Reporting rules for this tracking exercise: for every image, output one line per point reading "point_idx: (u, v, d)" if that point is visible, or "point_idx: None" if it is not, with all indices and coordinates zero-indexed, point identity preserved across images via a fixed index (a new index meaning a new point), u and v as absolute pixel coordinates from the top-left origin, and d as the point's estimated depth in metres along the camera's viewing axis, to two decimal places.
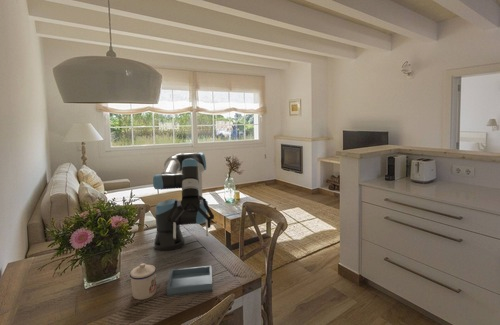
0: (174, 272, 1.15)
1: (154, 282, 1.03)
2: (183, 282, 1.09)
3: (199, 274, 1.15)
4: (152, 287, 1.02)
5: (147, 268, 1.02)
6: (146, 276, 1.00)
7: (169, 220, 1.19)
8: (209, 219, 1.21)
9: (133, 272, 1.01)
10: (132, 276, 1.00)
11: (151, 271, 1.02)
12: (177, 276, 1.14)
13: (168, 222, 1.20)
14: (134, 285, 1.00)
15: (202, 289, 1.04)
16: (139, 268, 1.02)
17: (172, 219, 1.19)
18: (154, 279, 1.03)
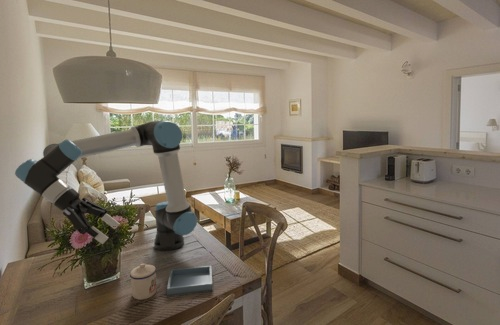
0: (174, 272, 1.15)
1: (154, 282, 1.03)
2: (183, 282, 1.09)
3: (199, 274, 1.15)
4: (152, 287, 1.02)
5: (147, 268, 1.02)
6: (146, 276, 1.00)
7: None
8: (86, 232, 0.91)
9: (133, 272, 1.01)
10: (132, 276, 1.00)
11: (151, 271, 1.02)
12: (177, 276, 1.14)
13: None
14: (134, 285, 1.00)
15: (202, 289, 1.04)
16: (139, 268, 1.02)
17: None
18: (154, 279, 1.03)
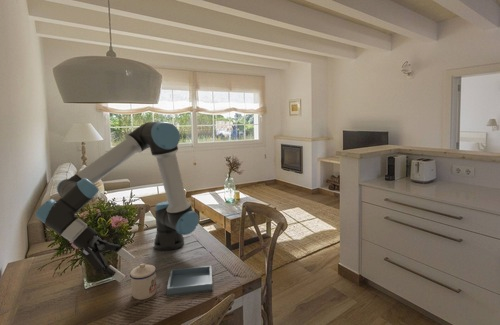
0: (174, 272, 1.15)
1: (154, 282, 1.03)
2: (183, 282, 1.09)
3: (199, 274, 1.15)
4: (152, 287, 1.02)
5: (147, 268, 1.02)
6: (146, 276, 1.00)
7: None
8: (103, 271, 0.94)
9: (133, 272, 1.01)
10: (132, 276, 1.00)
11: (151, 271, 1.02)
12: (177, 276, 1.14)
13: None
14: (134, 285, 1.00)
15: (202, 289, 1.04)
16: (139, 268, 1.02)
17: None
18: (154, 279, 1.03)
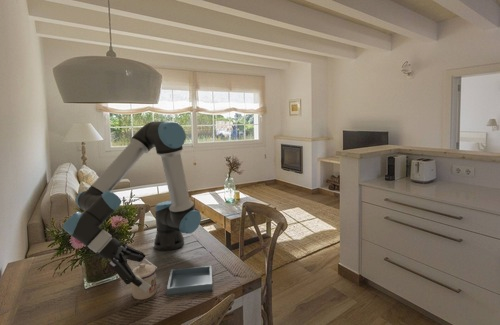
0: (174, 272, 1.15)
1: (154, 282, 1.03)
2: (183, 282, 1.09)
3: (199, 274, 1.15)
4: (152, 287, 1.02)
5: (147, 268, 1.02)
6: (146, 276, 1.00)
7: None
8: (131, 281, 0.97)
9: (133, 272, 1.01)
10: None
11: (151, 271, 1.02)
12: (177, 276, 1.14)
13: None
14: (134, 285, 1.00)
15: (202, 289, 1.04)
16: (139, 268, 1.02)
17: None
18: (154, 279, 1.03)
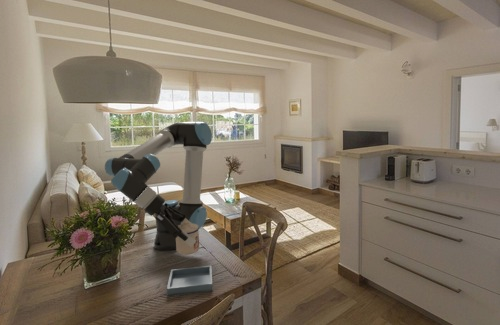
0: (174, 272, 1.15)
1: (198, 239, 1.05)
2: (183, 282, 1.09)
3: (199, 274, 1.15)
4: (196, 244, 1.04)
5: (191, 225, 1.04)
6: (191, 231, 1.02)
7: None
8: (177, 235, 0.99)
9: None
10: None
11: (195, 227, 1.04)
12: (177, 276, 1.14)
13: None
14: (179, 240, 1.02)
15: (202, 289, 1.04)
16: (183, 224, 1.04)
17: None
18: (198, 236, 1.05)
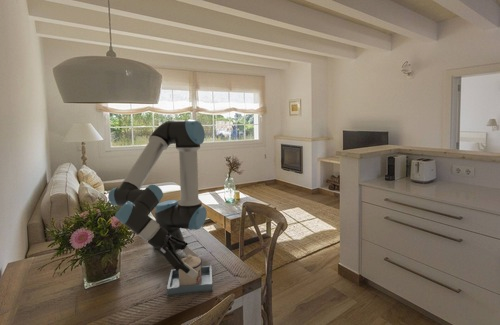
0: (174, 272, 1.15)
1: (200, 273, 1.07)
2: None
3: None
4: (199, 278, 1.06)
5: (194, 259, 1.06)
6: (194, 267, 1.04)
7: None
8: None
9: None
10: None
11: (198, 262, 1.06)
12: (177, 276, 1.14)
13: None
14: (182, 275, 1.04)
15: (202, 289, 1.04)
16: (186, 259, 1.06)
17: None
18: (200, 270, 1.07)
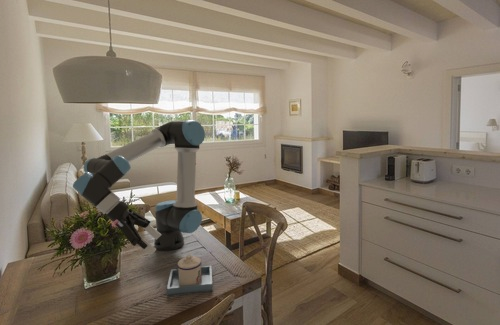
0: (174, 272, 1.15)
1: (200, 273, 1.07)
2: None
3: None
4: (199, 278, 1.06)
5: (194, 259, 1.06)
6: (194, 267, 1.04)
7: None
8: (136, 243, 0.97)
9: (181, 263, 1.05)
10: (180, 267, 1.04)
11: (198, 262, 1.06)
12: (177, 276, 1.14)
13: None
14: (182, 275, 1.04)
15: (202, 289, 1.04)
16: (186, 259, 1.06)
17: None
18: (200, 270, 1.07)
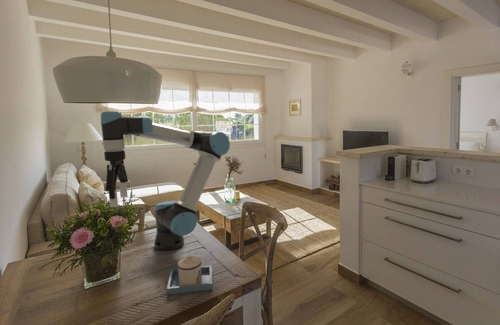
0: (174, 272, 1.15)
1: (200, 273, 1.07)
2: None
3: None
4: (199, 278, 1.06)
5: (194, 259, 1.06)
6: (194, 267, 1.04)
7: None
8: (109, 190, 1.05)
9: (181, 263, 1.05)
10: (180, 267, 1.04)
11: (198, 262, 1.06)
12: (177, 276, 1.14)
13: None
14: (182, 275, 1.04)
15: (202, 289, 1.04)
16: (186, 259, 1.06)
17: None
18: (200, 270, 1.07)
